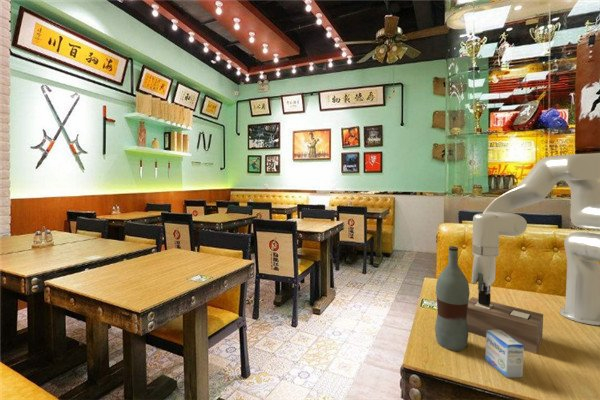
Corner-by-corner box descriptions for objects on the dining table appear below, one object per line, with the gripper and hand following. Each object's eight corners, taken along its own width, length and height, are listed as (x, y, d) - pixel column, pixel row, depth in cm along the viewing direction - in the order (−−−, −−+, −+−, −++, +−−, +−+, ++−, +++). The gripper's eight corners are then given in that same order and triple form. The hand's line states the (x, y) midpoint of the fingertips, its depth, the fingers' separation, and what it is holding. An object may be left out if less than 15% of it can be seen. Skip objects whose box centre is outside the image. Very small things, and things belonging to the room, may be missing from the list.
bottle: (469, 355, 84) (472, 251, 82) (434, 347, 88) (436, 248, 86) (466, 339, 92) (469, 245, 91) (434, 333, 96) (436, 243, 95)
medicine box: (484, 360, 82) (485, 329, 81) (499, 359, 82) (500, 329, 81) (506, 378, 74) (507, 344, 73) (523, 377, 74) (524, 344, 74)
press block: (472, 318, 107) (472, 297, 107) (542, 338, 93) (543, 314, 92) (460, 329, 99) (461, 306, 99) (536, 353, 84) (537, 326, 84)
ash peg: (477, 324, 103) (478, 301, 102) (492, 328, 99) (492, 305, 99) (473, 328, 100) (474, 305, 99) (488, 332, 96) (489, 309, 96)
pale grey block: (512, 334, 95) (512, 310, 95) (529, 339, 92) (530, 314, 92) (509, 339, 92) (509, 314, 92) (526, 344, 89) (527, 318, 89)
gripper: (479, 245, 106) (478, 295, 107) (465, 252, 96) (464, 307, 97) (504, 248, 101) (502, 301, 102) (492, 256, 90) (491, 314, 91)
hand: (484, 304), depth 99 cm, fingers closed
